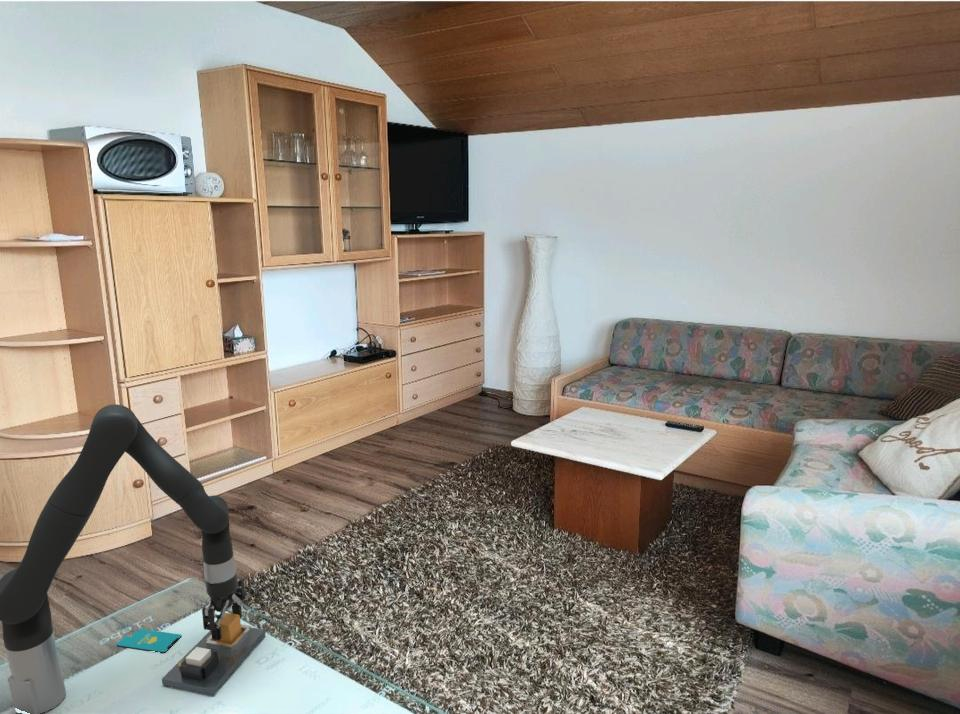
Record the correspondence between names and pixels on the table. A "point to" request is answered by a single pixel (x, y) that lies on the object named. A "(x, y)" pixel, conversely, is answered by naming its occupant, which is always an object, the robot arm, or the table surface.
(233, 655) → the grey control panel
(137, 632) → the smartphone
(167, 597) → the table surface
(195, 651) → the button
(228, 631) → the cap
